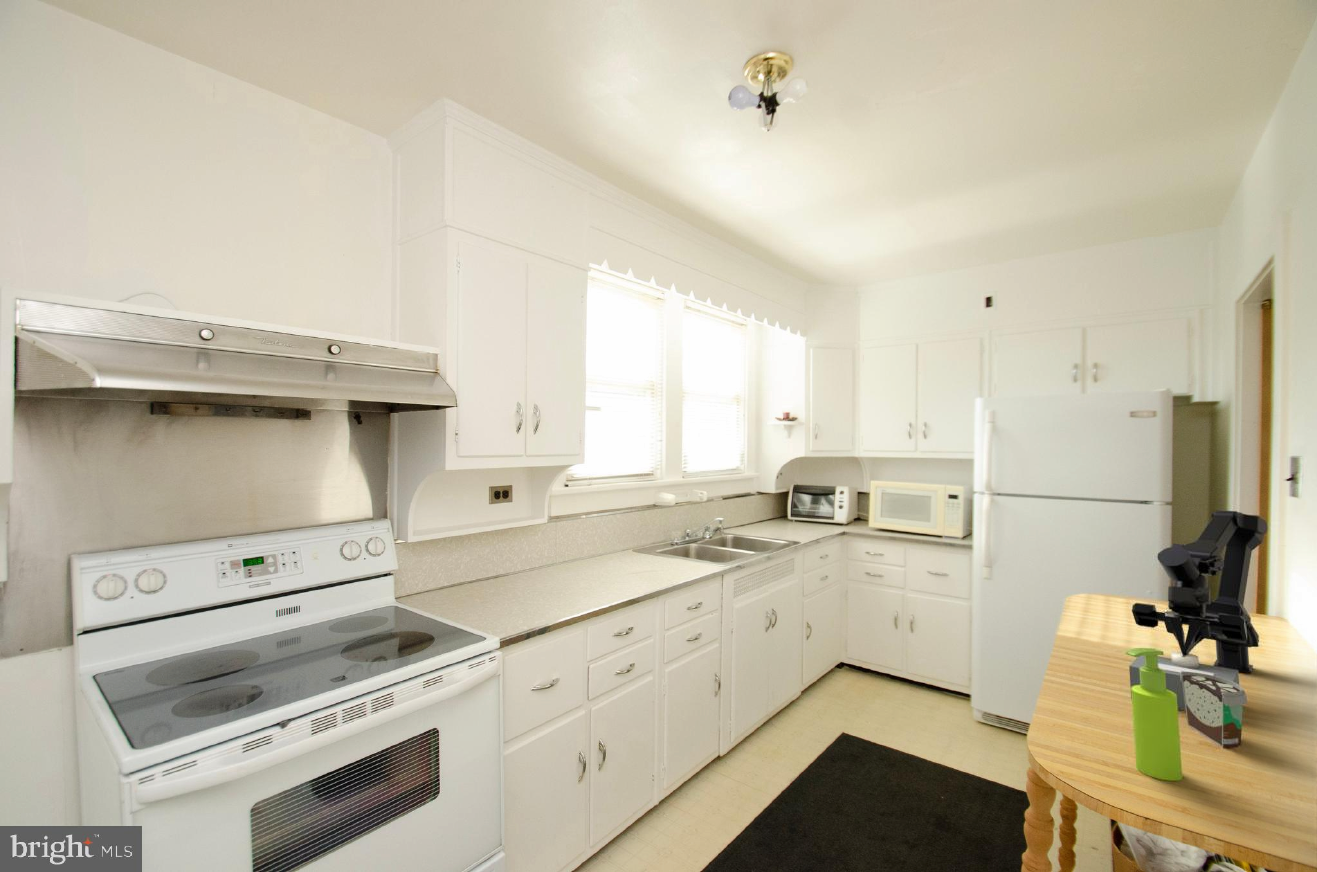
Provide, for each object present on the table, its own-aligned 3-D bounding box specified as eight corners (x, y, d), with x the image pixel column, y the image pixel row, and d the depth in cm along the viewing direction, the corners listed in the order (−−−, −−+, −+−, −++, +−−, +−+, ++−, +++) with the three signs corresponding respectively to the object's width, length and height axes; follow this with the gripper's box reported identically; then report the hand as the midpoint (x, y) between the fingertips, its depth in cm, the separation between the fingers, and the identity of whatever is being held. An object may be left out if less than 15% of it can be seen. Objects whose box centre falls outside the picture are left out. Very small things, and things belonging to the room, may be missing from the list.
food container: (1270, 754, 103) (1266, 695, 104) (1229, 752, 105) (1224, 694, 105) (1219, 724, 116) (1215, 671, 116) (1182, 722, 117) (1179, 670, 117)
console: (1143, 684, 136) (1141, 652, 137) (1240, 704, 124) (1238, 669, 125) (1131, 698, 128) (1129, 664, 129) (1234, 721, 116) (1231, 684, 117)
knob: (1175, 678, 132) (1173, 650, 132) (1201, 683, 128) (1199, 654, 129) (1171, 683, 129) (1169, 654, 129) (1198, 688, 125) (1196, 659, 126)
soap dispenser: (1121, 764, 101) (1113, 645, 102) (1158, 761, 102) (1150, 643, 103) (1152, 782, 96) (1144, 655, 97) (1192, 779, 96) (1183, 653, 97)
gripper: (1131, 567, 140) (1122, 623, 132) (1241, 577, 126) (1239, 640, 118) (1140, 596, 145) (1132, 652, 137) (1248, 609, 131) (1246, 672, 123)
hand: (1184, 653), depth 129 cm, fingers closed, pressing on knob
